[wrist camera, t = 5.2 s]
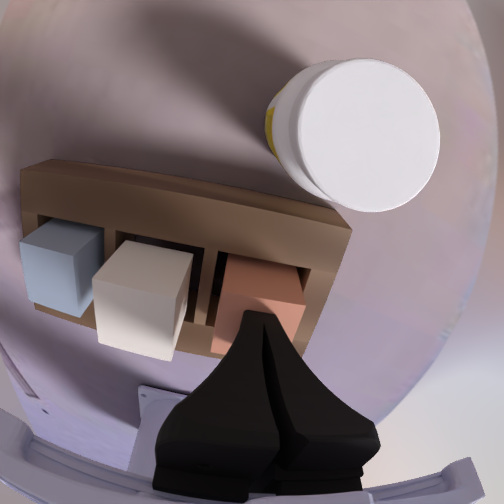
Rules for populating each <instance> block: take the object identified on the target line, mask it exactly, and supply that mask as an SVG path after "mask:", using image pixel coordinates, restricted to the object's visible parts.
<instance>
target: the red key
mask: <svg viewBox="0 0 504 504" xmlns="http://www.w3.org/2000/svg"><path fill="white" fill-rule="evenodd" d="M305 307H306V303H305V299H304V296H303V292H302V288H301V284H300V280H299V276H298V273H297V269H296V266H293V265H288V264H283V263H278V262H273V261H268V260H263V259H258V258H253V257H247V256H242V255H237V254H232V253H228V258H227V263H226V268H225V273H224V278H223V283H222V288H221V293H220V298H219V304H218V309H217V315H216V321H215V327H214V333H213V339H212V346H211V352H212V353H218V354H223V355H226V353H227V352H228V350H229V348H230V347H231V345H232V343H233V341H234V340H235V338H236V336H237V333H238V331H239V328H240V324H241V320H242V316H243V312H244V311H245V310H253V311H259V312H265V313H271V314H276V316H277V317H278V319H279V321H280V323H281V325H282V327H283V328H284V330H285V332H286V334H287V336H288V337H289V339H290V341H291V342H292V341H293V338H294V336H295V333H296V331H297V328H298V326H299V323H300V321H301V318H302V315H303V313H304V310H305Z"/></svg>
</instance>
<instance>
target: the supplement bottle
mask: <svg viewBox="0 0 504 504" xmlns="http://www.w3.org/2000/svg"><path fill="white" fill-rule="evenodd" d="M264 132H265V137H266V140H267V143H268V145H269V147H270V149H271V151H272V152H273V154H274V155H275V157H276V158H277V160H278V161H279V162H280V164H281V165H282V167H283V168H284V169H285V171H286V172H287V173H288V175H289V176H290V177H291V178H292V179H293V180H294V181H295V182H296V183H297V184H298V185H299V186H300V187H302V188H303V189H305V190H306V191H308V192H310V193H311V194H313V195H315V196H317V197H320V198H323V199H325V200H329V201H334V202H337V203H338V204H340V205H342V206H345V207H347V208H350V209H353V210H357V211H363V212H381V211H386V210H390V209H394V208H396V207H399V206H401V205H403V204H404V203H406V202H408V201H409V200H411V199H412V198H413V197H415V196H416V195H417V194H418V193H419V192H420V191H421V189H422V188H423V187H424V186H425V184H426V183H427V182H428V180H429V178H430V177H431V175H432V173H433V171H434V168H435V166H436V163H437V159H438V154H439V148H440V132H439V125H438V120H437V116H436V113H435V110H434V107H433V105H432V103H431V101H430V99H429V98H428V96H427V94H426V93H425V91H424V90H423V89H422V87H421V86H420V85H419V84H418V83H417V82H416V81H415V80H414V79H413V78H412V77H411V76H410V75H409V74H407V73H406V72H404V71H403V70H401V69H400V68H398V67H396V66H394V65H392V64H389V63H387V62H384V61H381V60H377V59H369V58H354V59H349V60H330V61H324V62H320V63H317V64H314V65H312V66H310V67H307V68H306V69H304V70H302V71H301V72H299V73H298V74H296V75H295V76H294V77H293V78H292V79H291V80H290V81H289V82H288V83H287V84H286V85H285V86H284V87H283V88H282V89H281V90H280V91H279V92H278V93H277V94H276V95H275V96H274V98H273V99H272V101H271V102H270V104H269V106H268V108H267V111H266V115H265V121H264Z"/></svg>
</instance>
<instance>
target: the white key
mask: <svg viewBox="0 0 504 504" xmlns="http://www.w3.org/2000/svg"><path fill="white" fill-rule="evenodd" d="M192 261H193V254H192V253H187V252H182V251H177V250H172V249H167V248H162V247H157V246H152V245H148V244H143V243H138V242H133V241H128V240H125V242H124V243H123V244H122V245H121V246H120V247H119V248H118V249H117V250H116V251H115V252H114V254H113V255H112V256H111V257H110V258H109V259H108V260H107V261H106V263H105V264H104V265H103V266H102V267H101V268H100V269H99V271H98V272H97V273H96V274H95V275H94V276H93V278H92V287H93V299H94V309H95V318H96V326H97V334H98V341H99V343H101V344H105V345H108V346H111V347H115V348H118V349H122V350H126V351H129V352H133V353H137V354H141V355H145V356H149V357H153V358H157V359H161V360H165V361H170V362H171V360H172V357H173V353H174V350H175V346H176V343H177V340H178V336H179V333H180V330H181V326H182V323H183V320H184V316H185V313H186V307H187V299H188V291H189V283H190V275H191V268H192Z"/></svg>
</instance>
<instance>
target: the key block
mask: <svg viewBox="0 0 504 504" xmlns="http://www.w3.org/2000/svg"><path fill="white" fill-rule="evenodd" d="M20 196H21V215H22V228H23V238H25V237H26V236H28V235H29V234H30V233H32V232H33V231H35V230H36V229H38V228H39V227H41V226H42V225H44V224H45V223H47V222H48V221H50V220H51V219H53V218H59V219H64V220H68V221H73V222H78V223H83V224H88V225H93V226H98V227H103V228H105V229H104V259H105V263H106V261H107V260H108V259H109V258H110V257H111V256H112V255H113V254H114V252H115V251H116V250H117V249H118V248H119V247H120V246H121V245H122V244H123V243H124V242H125V240H128V241H133V242H135V234H137V235H142V236H147V237H152V238H157V239H162V240H167V241H172V242H177V243H182V244H187V245H192V246H197V247H202V248H205V251H204V257H203V263H202V270H201V276H200V283H199V289H198V292H197V291H192V290H189V291H188V299H187V307H186V313H185V316H184V320H183V323H182V326H181V330H180V333H179V336H178V340H177V343H176V346H175V350H178V351H182V352H187V353H192V354H197V355H202V356H207V357H213V358H218V359H223V357H224V356H225V355H223V354H218V353H212V352H211V346H212V339H213V333H214V327H215V321H216V315H217V309H218V304H219V298H220V296H217V295H212V289H213V283H214V277H215V272H216V266H217V261H218V256H219V251H222V252H227V253H232V254H237V255H242V256H247V257H253V258H258V259H263V260H268V261H273V262H278V263H283V264H288V265H293V266H296V269H297V273H298V276H299V280H300V284H301V288H302V292H303V296H304V299H305V303H306V307H305V310H304V313H303V315H302V318H301V321H300V323H299V326H298V328H297V331H296V333H295V336H294V338H293V341H292V344H293V346H294V347H295V349H296V351H297V352H298V354H299V355H300V357H301V358H302V356H303V354H304V352H305V349H306V347H307V345H308V343H309V340H310V338H311V336H312V333H313V331H314V329H315V326H316V324H317V322H318V319H319V317H320V315H321V312H322V310H323V307H324V305H325V302H326V300H327V297H328V295H329V292H330V290H331V287H332V285H333V282H334V280H335V277H336V274H337V272H338V269H339V266H340V264H341V261H342V258H343V256H344V253H345V250H346V247H347V245H348V242H349V239H350V236H351V233H352V229H351V227H350V226H349V225H348V224H347V223H346V221H345V220H344V219H343V218H342V217H341V215H340V214H339V213H338V212H337V211H336V210H333V209H329V208H325V207H321V206H317V205H313V204H309V203H305V202H301V201H296V200H292V199H288V198H283V197H279V196H274V195H270V194H265V193H261V192H256V191H251V190H246V189H242V188H237V187H232V186H227V185H221V184H216V183H211V182H206V181H200V180H195V179H189V178H183V177H178V176H172V175H166V174H160V173H153V172H147V171H140V170H134V169H127V168H120V167H112V166H105V165H97V164H89V163H80V162H71V161H62V160H52V159H50V160H47V161H44V162H41V163H38V164H35V165H32V166H29V167H26V168H24V169H21V170H20ZM34 305H35V309H37V310H39V311H42V312H45V313H48V314H50V315H53V316H56V317H59V318H62V319H65V320H68V321H71V322H74V323H77V324H80V325H83V326H86V327H90V328H93V329H96V330H97V326H96V318H95V309H94V299H93V300H92V302H91V303H90V304H89V306H88V307H87V308H86V310H85V311H84V313H83V314H82V315H81V317H80V318H79V317H76V316H73V315H70V314H67V313H64V312H61V311H58V310H55V309H52V308H49V307H46V306H43V305H40V304H38V303H35V302H34Z"/></svg>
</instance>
